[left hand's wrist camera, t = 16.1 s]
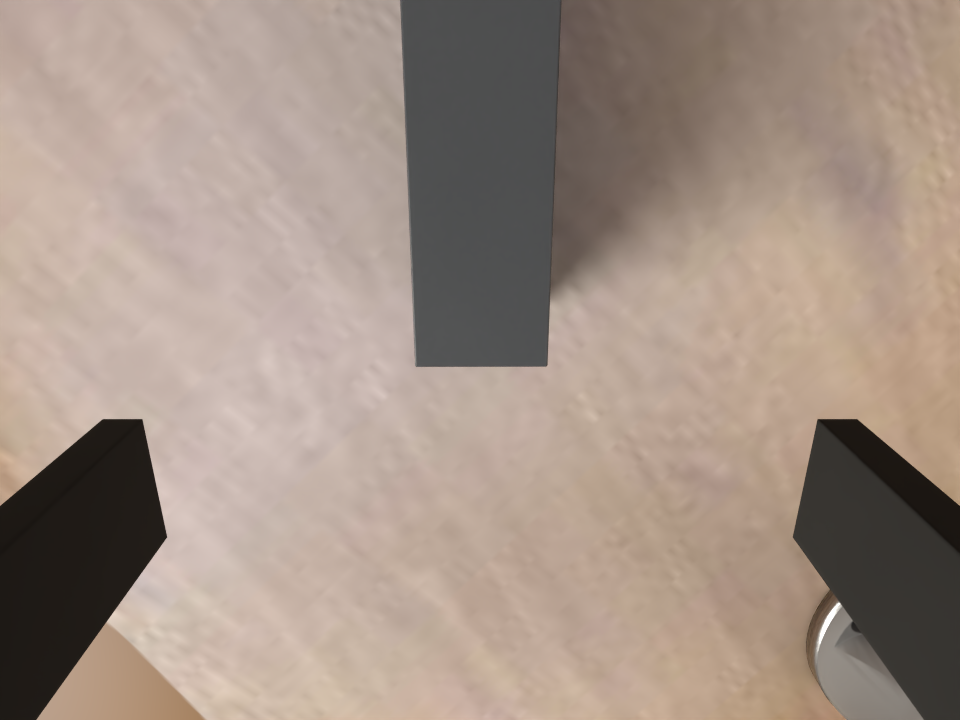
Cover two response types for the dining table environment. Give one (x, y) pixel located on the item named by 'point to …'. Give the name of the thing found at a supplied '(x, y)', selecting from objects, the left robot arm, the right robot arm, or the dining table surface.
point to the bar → (481, 177)
